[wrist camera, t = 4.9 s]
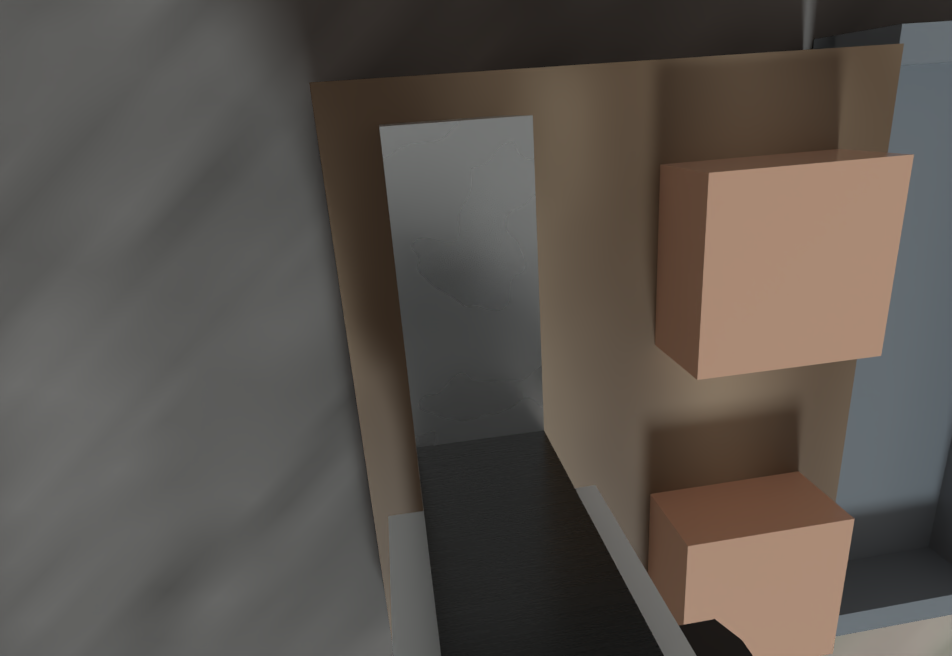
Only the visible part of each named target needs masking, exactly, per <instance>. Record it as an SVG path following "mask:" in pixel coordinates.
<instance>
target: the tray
mask: <svg viewBox="0 0 952 656" xmlns="http://www.w3.org/2000/svg"><path fill="white" fill-rule="evenodd" d="M901 43H904V47H903V54H902V61H901V67H900V74H899V81H898V88H897V94H896V101H895V108H894V114H893V121H892V128H891V134H890V141H889V148H888V153H901V154H914V158H913V164H912V170H911V176H910V182H909V189H908V195H907V201H906V207H905V213H904V219H903V225H902V231H901V238H900V244H899V250H898V256H897V262H896V268H895V274H894V280H893V287H892V293H891V299H890V305H889V311H888V317H887V323H886V330H885V336H884V342H883V348H882V354H881V356H876V357H869V358H861V359H857V362H856V369H855V376H854V382H853V389H852V396H851V403H850V409H849V416H848V423H847V429H846V436H845V443H844V450H843V456H842V463H841V470H840V476H839V483H838V490H837V496H836V503H837V504H838V505H839V506H840V507H841V508H842V509H844V510H845V511H846V512H847V513H848V514H850V515H851V516H852V517H853V518H854V519H855V520H854V526H853V532H852V538H851V544H850V550H849V556H848V563H847V569H846V575H845V581H844V587H843V593H842V599H841V605H840V612H839V618H838V624H837V630H836V636H840V635H845V634H851V633H856V632H861V631H867V630H872V629H877V628H882V627H888V626H893V625H898V624H904V623H909V622H914V621H920V620H925V619H930V618H935V617H941V616H946V615H951V614H952V21H941V22H924V23H908V24H899V25H893V26H887V27H882V28H876V29H870V30H864V31H859V32H853V33H847V34H841V35H836V36H830V37H824V38H818V39H814V45H813V49H826V48H841V47H856V46H871V45H886V44H901Z"/></svg>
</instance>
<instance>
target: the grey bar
mask: <svg viewBox="0 0 952 656" xmlns="http://www.w3.org/2000/svg"><path fill="white" fill-rule="evenodd" d="M379 131H380V139H381V148H382V157H383V165H384V174H385V183H386V191H387V200H388V209H389V217H390V226H391V235H392V243H393V252H394V261H395V269H396V278H397V287H398V295H399V304H400V313H401V321H402V330H403V339H404V347H405V356H406V365H407V373H408V382H409V391H410V399H411V408H412V417H413V425H414V434H415V443H416V451H417V460H418V469H419V477H420V486H421V495H422V503H423V511H424V517H425V525H426V534H427V542H428V551H429V559H430V567H431V576H432V584H433V592H434V601H435V609H436V617H437V626H438V634H439V643H440V651H441V656H664V655H663V653H662V651H661V649H660V647H659V645H658V643H657V642H656V640H655V638H654V636H653V634H652V632H651V630H650V628H649V627H648V625H647V623H646V621H645V619H644V617H643V615H642V613H641V611H640V610H639V608H638V606H637V604H636V602H635V600H634V598H633V596H632V595H631V593H630V591H629V589H628V587H627V585H626V583H625V581H624V580H623V578H622V576H621V574H620V572H619V570H618V568H617V566H616V565H615V563H614V561H613V559H612V557H611V555H610V553H609V551H608V550H607V548H606V546H605V544H604V542H603V540H602V538H601V536H600V534H599V533H598V531H597V529H596V527H595V525H594V523H593V521H592V519H591V518H590V516H589V514H588V512H587V510H586V508H585V506H584V504H583V503H582V501H581V499H580V497H579V495H578V493H577V491H576V489H575V488H574V486H573V484H572V482H571V480H570V478H569V476H568V474H567V473H566V471H565V469H564V467H563V465H562V463H561V461H560V459H559V458H558V456H557V454H556V452H555V450H554V448H553V446H552V444H551V442H550V441H549V439H548V437H547V435H546V433H545V431H544V416H543V389H542V361H541V333H540V305H539V277H538V250H537V222H536V194H535V166H534V138H533V115H502V116H488V117H475V118H462V119H448V120H435V121H421V122H408V123H395V124H381V125H379Z"/></svg>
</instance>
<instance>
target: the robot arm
mask: <svg viewBox="0 0 952 656" xmlns="http://www.w3.org/2000/svg"><path fill="white" fill-rule="evenodd" d="M575 489H576V491H577V493H578V495H579V497H580V499H581V501H582V503H583V504H584V506H585V508H586V510H587V512H588V514H589V516H590V518H591V519H592V521H593V523H594V525H595V527H596V529H597V531H598V533H599V534H600V536H601V538H602V540H603V542H604V544H605V546H606V548H607V550H608V551H609V553H610V555H611V557H612V559H613V561H614V563H615V565H616V566H617V568H618V570H619V572H620V574H621V576H622V578H623V580H624V581H625V583H626V585H627V587H628V589H629V591H630V593H631V595H632V596H633V598H634V600H635V602H636V604H637V606H638V608H639V610H640V611H641V613H642V615H643V617H644V619H645V621H646V623H647V625H648V627H649V628H650V630H651V632H652V634H653V636H654V638H655V640H656V642H657V643H658V645H659V647H660V649H661V651H662V653H663V655H664V656H753V655H752V654H751V652H750V651H749V649H748V648H747V647H746V645H745V644H744V642H743V641H742V640H741V639H740V638H739V637H737V636H736V635H735V634H734V633H732V632H731V631H730V630H728V629H727V628H726V627H725V626H723V625H722V624H721V623H719V622H718V621H717V620H716V619H712V620H707V621H701V622H696V623H690V624H685V625H678V624H677V622H676V620H675V619H674V617H673V615H672V614H671V612H670V610H669V608H668V607H667V605H666V603H665V602H664V600H663V598H662V597H661V595H660V593H659V592H658V590H657V588H656V587H655V585H654V583H653V581H652V580H651V578H650V576H649V575H648V573H647V571H646V570H645V568H644V566H643V565H642V563H641V561H640V559H639V558H638V556H637V554H636V553H635V551H634V549H633V548H632V546H631V544H630V543H629V541H628V539H627V538H626V536H625V534H624V532H623V531H622V529H621V527H620V526H619V524H618V522H617V521H616V519H615V517H614V516H613V514H612V512H611V511H610V509H609V507H608V505H607V504H606V502H605V500H604V499H603V497H602V495H601V494H600V492H599V490H598V489H597V487H596V485H593V486H587V487H580V488H575ZM388 519H389V552H390V584H391V617H392V649H393V656H441V651H440V643H439V634H438V626H437V617H436V609H435V601H434V592H433V584H432V576H431V567H430V559H429V551H428V542H427V534H426V525H425V517H424V511H420V512H414V513H407V514H400V515H394V516H388Z"/></svg>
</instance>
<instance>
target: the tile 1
mask: <svg viewBox="0 0 952 656" xmlns="http://www.w3.org/2000/svg"><path fill="white" fill-rule="evenodd" d="M854 520H855V519H854V518H853V517H852V516H851V515H850V514H848V513H847V512H846V511H845V510H844V509H842V508H841V507H840V506H839V505H838V504H837V503H835V502H834V501H833V500H832V499H831V498H829V497H828V496H827V495H826V494H825V493H824V492H822V491H821V490H820V489H819V488H818V487H816V486H815V485H814V484H813V483H812V482H811V481H809V480H808V479H807V478H806V477H805V476H803V475H802V474H801V473H800V472H799V471H797V472H791V473H784V474H778V475H771V476H765V477H758V478H752V479H745V480H739V481H732V482H725V483H719V484H712V485H706V486H699V487H693V488H686V489H680V490H673V491H667V492H660V493H654V494H650V521H649V554H648V575H649V576H650V578H651V580H652V581H653V583H654V585H655V587H656V588H657V590H658V592H659V593H660V595H661V597H662V598H663V600H664V602H665V603H666V605H667V607H668V608H669V610H670V612H671V614H672V615H673V617H674V619H675V620H676V622H677V624H678V625H685V624H690V623H696V622H701V621H707V620H712V619H716V620H717V621H718V622H719V623H721V624H722V625H723V626H725V627H726V628H727V629H728V630H730V631H731V632H732V633H734V634H735V635H736V636H737V637H739V638H740V639H741V640H742V641H743V642H744V644H745V645H746V647H747V648H748V649H749V651H750V652H751V654H752V655H753V656H821V655H827V654H832V653H833V648H834V642H835V636H836V630H837V624H838V618H839V612H840V605H841V599H842V593H843V587H844V581H845V575H846V569H847V563H848V556H849V550H850V544H851V538H852V532H853V526H854Z"/></svg>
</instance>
